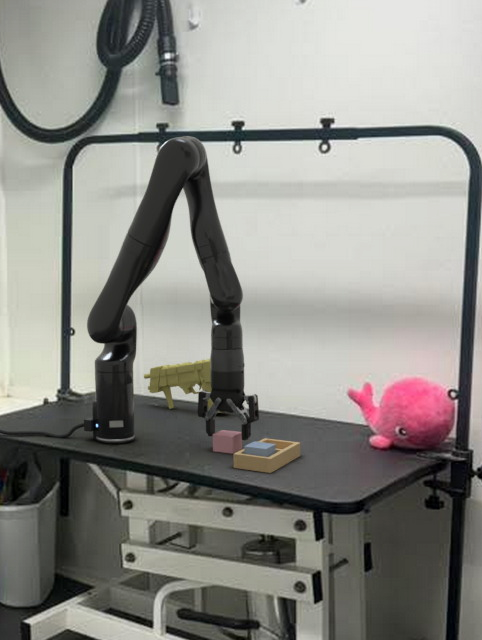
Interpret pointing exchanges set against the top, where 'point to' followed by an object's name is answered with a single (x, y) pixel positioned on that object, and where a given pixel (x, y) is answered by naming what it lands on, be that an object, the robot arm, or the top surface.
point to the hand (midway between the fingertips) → (228, 437)
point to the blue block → (260, 449)
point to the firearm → (180, 378)
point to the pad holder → (282, 456)
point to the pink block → (227, 441)
